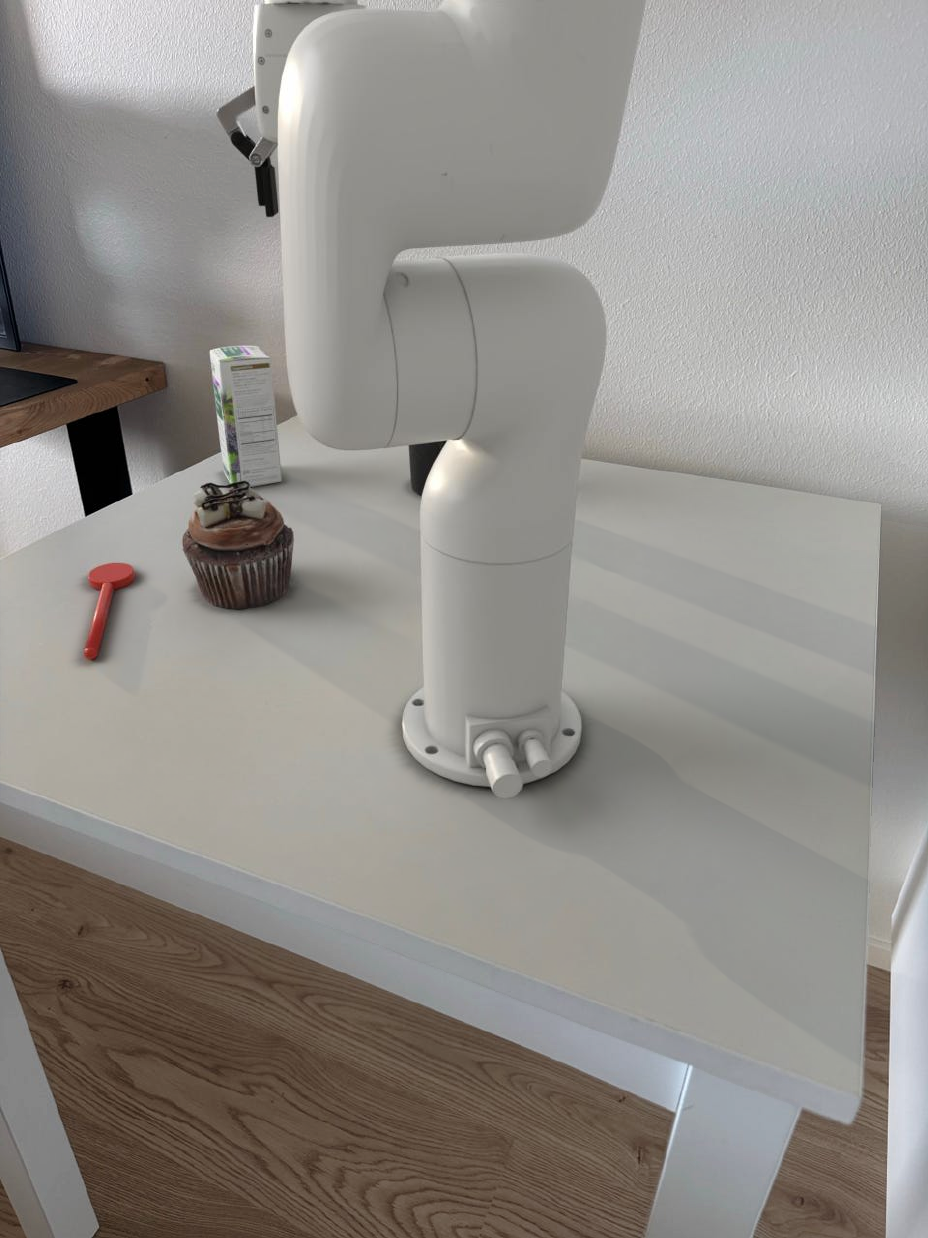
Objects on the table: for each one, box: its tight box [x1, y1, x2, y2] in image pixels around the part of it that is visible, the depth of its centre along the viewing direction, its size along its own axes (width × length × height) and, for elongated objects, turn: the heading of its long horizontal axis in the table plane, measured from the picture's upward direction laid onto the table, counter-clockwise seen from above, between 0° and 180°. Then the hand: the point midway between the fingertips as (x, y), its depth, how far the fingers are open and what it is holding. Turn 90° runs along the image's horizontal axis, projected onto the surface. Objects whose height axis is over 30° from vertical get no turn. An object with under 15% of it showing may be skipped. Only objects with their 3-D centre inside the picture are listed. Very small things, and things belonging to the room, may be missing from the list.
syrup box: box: [209, 345, 283, 488], centre depth 101 cm, size 6×6×14 cm
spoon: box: [83, 562, 136, 660], centre depth 78 cm, size 16×4×1 cm, turn 12°
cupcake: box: [181, 481, 295, 610], centre depth 80 cm, size 10×10×10 cm
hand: (325, 214), depth 82 cm, fingers open, 9 cm apart
